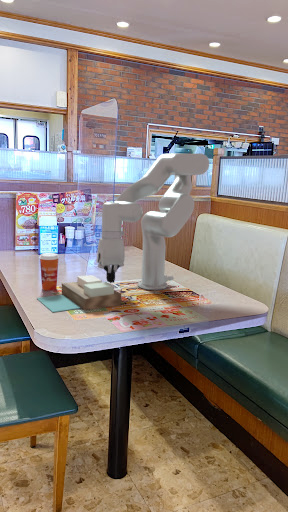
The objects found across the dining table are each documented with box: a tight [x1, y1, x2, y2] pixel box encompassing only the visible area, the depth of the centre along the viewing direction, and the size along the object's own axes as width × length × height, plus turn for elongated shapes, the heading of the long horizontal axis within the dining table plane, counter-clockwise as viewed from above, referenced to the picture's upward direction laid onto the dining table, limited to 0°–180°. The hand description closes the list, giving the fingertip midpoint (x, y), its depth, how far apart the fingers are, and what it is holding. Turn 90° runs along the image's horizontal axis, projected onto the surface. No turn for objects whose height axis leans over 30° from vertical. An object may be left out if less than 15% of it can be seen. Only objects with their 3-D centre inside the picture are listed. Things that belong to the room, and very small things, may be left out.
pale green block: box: [84, 281, 115, 297], centre depth 143 cm, size 6×9×3 cm, turn 122°
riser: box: [61, 281, 122, 311], centre depth 150 cm, size 14×22×4 cm, turn 32°
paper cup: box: [38, 252, 60, 292], centre depth 160 cm, size 8×8×14 cm
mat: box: [36, 294, 82, 313], centre depth 143 cm, size 10×17×1 cm, turn 32°
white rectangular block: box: [76, 274, 103, 288], centre depth 152 cm, size 6×9×3 cm, turn 32°
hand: (110, 281), depth 157 cm, fingers closed
